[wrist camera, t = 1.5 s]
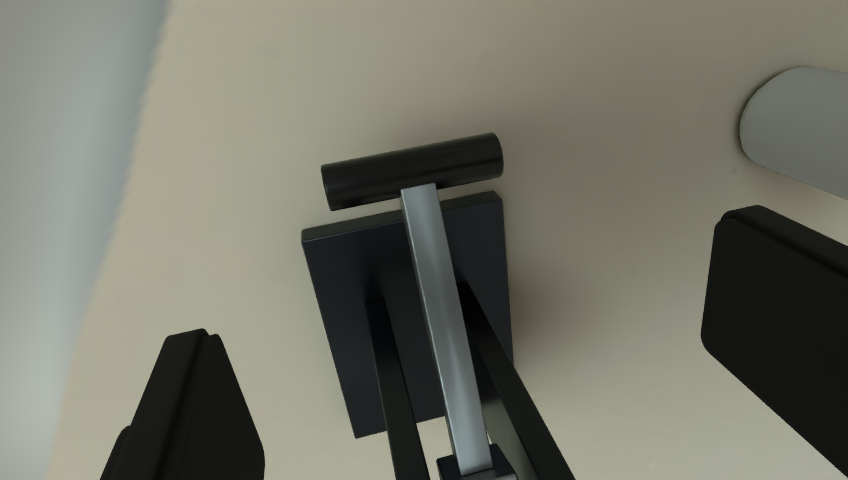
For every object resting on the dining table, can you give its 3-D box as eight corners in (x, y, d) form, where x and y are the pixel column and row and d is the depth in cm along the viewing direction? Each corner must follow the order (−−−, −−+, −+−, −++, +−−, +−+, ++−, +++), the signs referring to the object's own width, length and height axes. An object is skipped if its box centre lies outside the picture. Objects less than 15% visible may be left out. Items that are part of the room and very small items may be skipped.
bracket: (301, 229, 23) (296, 460, 12) (494, 189, 24) (657, 367, 13) (353, 423, 29) (384, 705, 18) (509, 383, 30) (632, 625, 19)
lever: (323, 169, 17) (317, 160, 15) (483, 138, 18) (502, 125, 15) (405, 549, 18) (412, 598, 15) (557, 505, 18) (586, 547, 16)
